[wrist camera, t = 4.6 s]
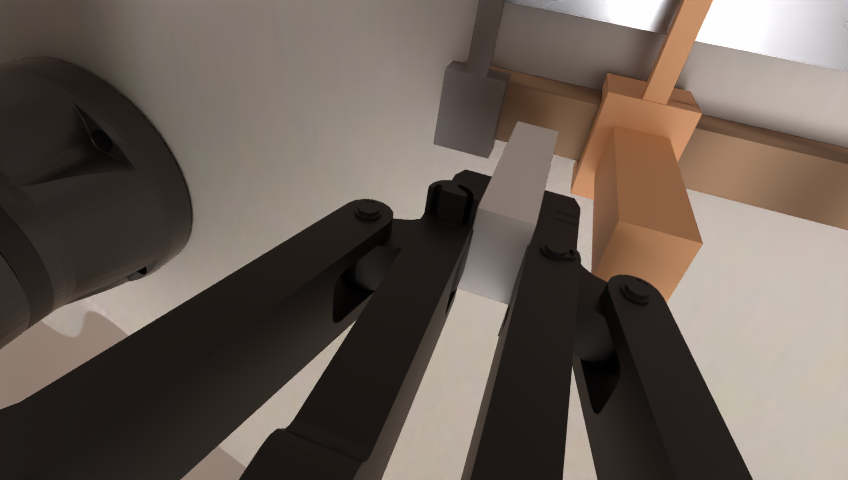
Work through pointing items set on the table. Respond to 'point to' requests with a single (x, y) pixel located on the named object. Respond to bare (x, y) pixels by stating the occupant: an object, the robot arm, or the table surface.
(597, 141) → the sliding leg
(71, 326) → the table surface
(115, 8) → the table surface
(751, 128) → the beam
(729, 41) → the metal board
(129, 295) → the table surface
